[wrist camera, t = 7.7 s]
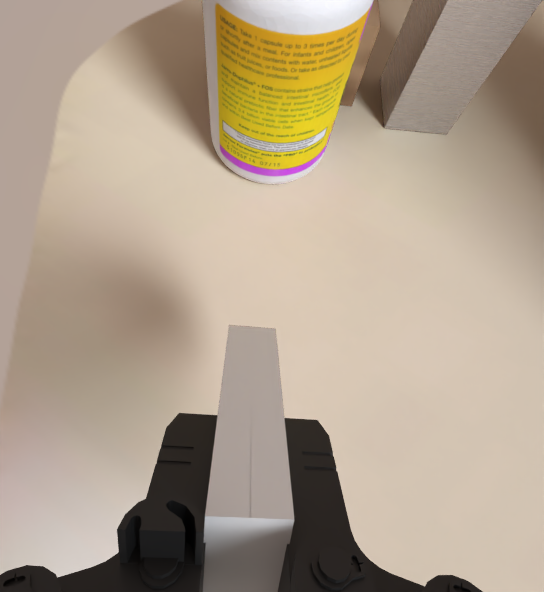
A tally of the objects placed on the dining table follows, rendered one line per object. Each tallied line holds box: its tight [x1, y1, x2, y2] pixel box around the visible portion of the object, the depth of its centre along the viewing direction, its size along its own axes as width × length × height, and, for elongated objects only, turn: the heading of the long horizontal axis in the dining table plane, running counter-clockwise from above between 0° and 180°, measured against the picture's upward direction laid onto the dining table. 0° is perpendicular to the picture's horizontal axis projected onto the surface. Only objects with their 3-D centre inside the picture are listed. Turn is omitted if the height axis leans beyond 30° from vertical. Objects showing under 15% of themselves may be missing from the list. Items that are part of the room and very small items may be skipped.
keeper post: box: [380, 0, 542, 134], centre depth 21 cm, size 4×4×8 cm
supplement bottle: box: [202, 0, 374, 184], centre depth 17 cm, size 7×7×13 cm
